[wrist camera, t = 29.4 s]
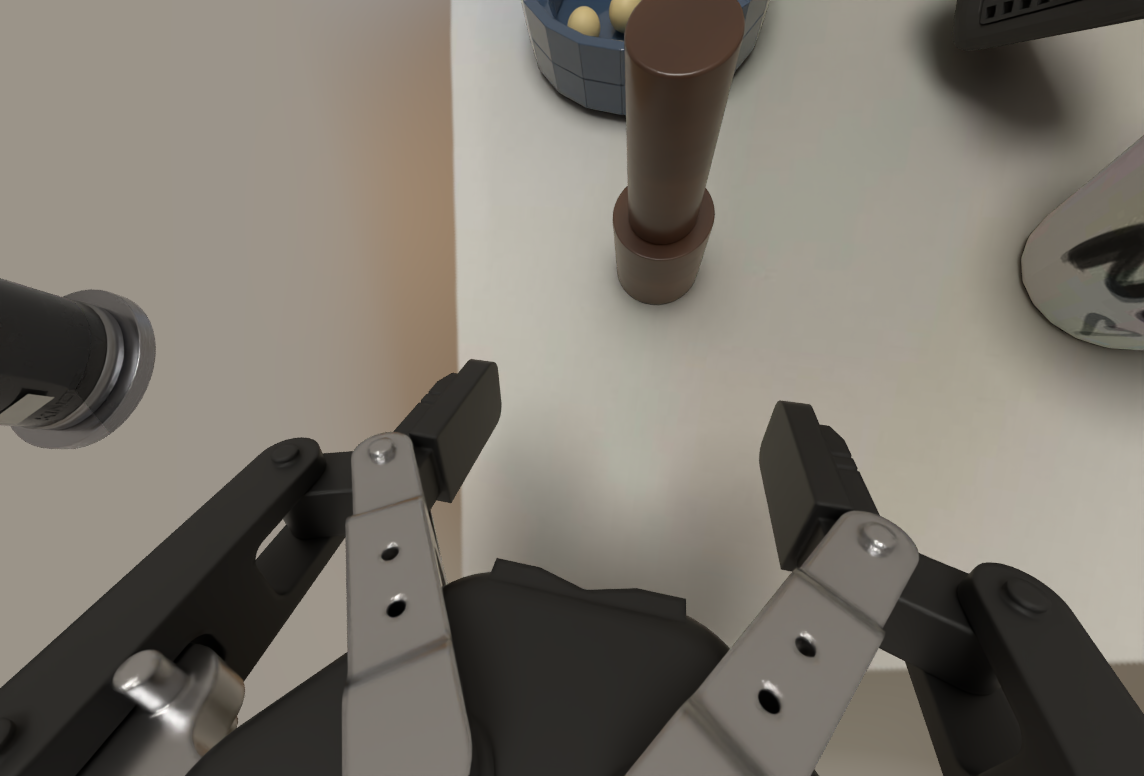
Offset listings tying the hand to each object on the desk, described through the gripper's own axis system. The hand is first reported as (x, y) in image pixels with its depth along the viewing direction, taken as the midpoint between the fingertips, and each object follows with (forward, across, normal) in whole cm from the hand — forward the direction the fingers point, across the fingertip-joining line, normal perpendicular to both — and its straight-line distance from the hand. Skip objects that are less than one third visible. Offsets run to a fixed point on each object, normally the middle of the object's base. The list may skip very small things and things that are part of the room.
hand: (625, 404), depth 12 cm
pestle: (+14, 0, 0) cm, 14 cm away
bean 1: (+22, +6, -11) cm, 26 cm away
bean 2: (+23, +4, -12) cm, 26 cm away
